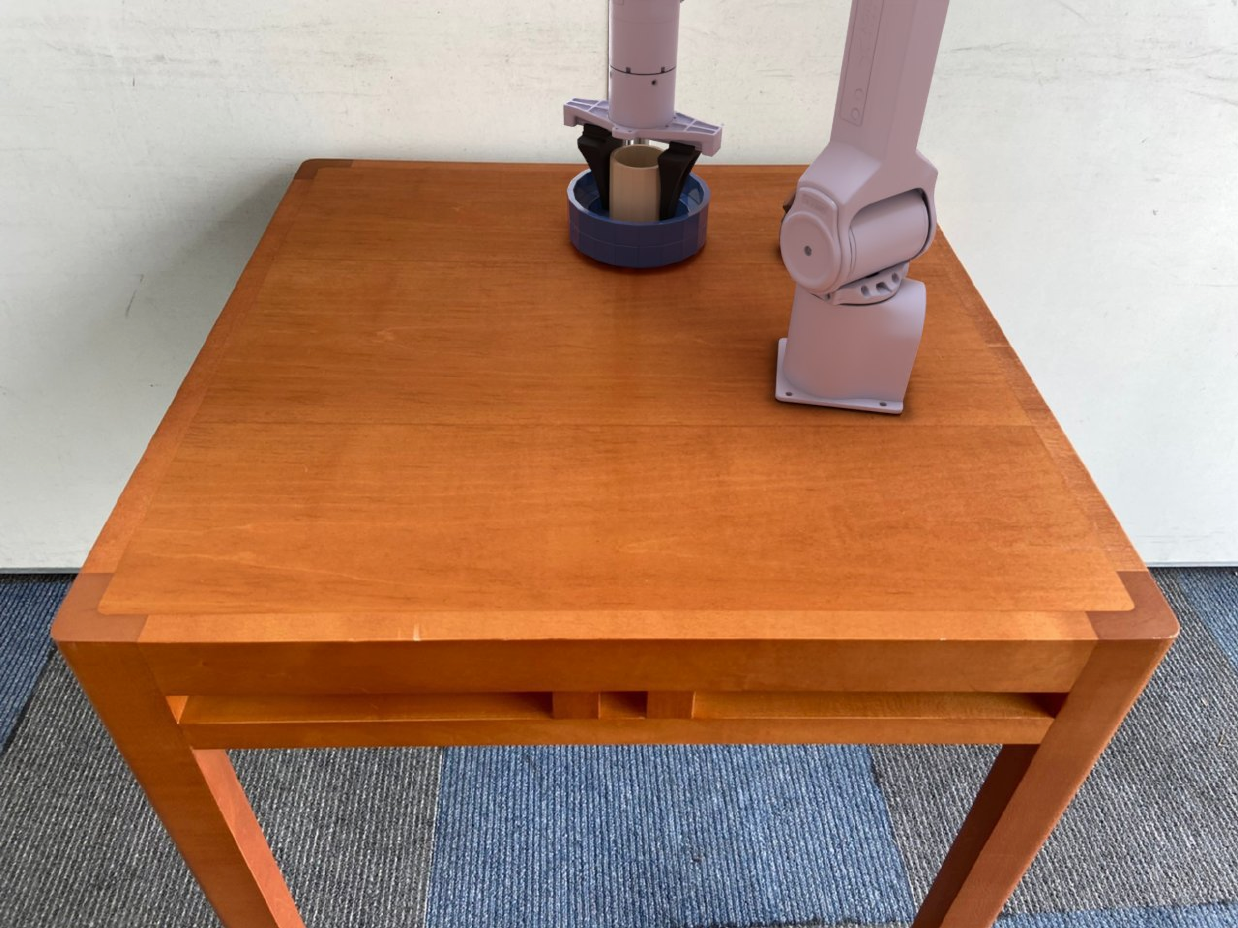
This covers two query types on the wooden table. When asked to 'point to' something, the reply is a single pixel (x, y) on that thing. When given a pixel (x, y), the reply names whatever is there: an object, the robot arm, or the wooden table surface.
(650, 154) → the cup
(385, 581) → the wooden table surface
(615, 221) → the bowl
